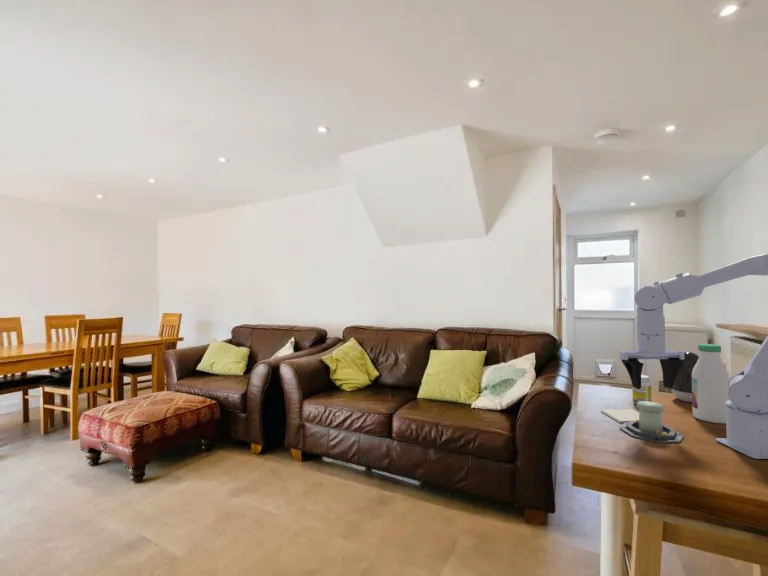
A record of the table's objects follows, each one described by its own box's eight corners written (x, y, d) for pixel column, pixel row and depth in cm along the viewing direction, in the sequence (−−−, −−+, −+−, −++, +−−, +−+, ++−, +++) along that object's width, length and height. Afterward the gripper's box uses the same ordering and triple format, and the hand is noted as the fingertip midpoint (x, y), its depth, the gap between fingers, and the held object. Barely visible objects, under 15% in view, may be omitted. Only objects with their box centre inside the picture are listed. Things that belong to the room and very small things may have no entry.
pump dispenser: (662, 395, 119) (660, 349, 119) (698, 396, 118) (696, 349, 118) (682, 405, 109) (680, 354, 109) (721, 406, 107) (720, 355, 108)
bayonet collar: (695, 442, 83) (695, 435, 83) (642, 443, 84) (642, 435, 84) (658, 423, 95) (658, 417, 95) (611, 423, 96) (611, 417, 96)
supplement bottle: (645, 401, 114) (644, 374, 114) (655, 405, 109) (654, 377, 109) (629, 400, 115) (628, 374, 115) (638, 405, 110) (637, 377, 110)
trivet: (655, 422, 96) (655, 420, 96) (620, 423, 96) (620, 420, 96) (632, 411, 105) (632, 409, 105) (601, 411, 105) (601, 409, 105)
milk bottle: (737, 421, 95) (735, 345, 96) (720, 426, 93) (718, 347, 93) (703, 412, 103) (701, 341, 103) (686, 416, 100) (684, 343, 100)
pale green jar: (670, 437, 86) (669, 408, 86) (648, 437, 87) (647, 408, 87) (653, 428, 92) (652, 400, 92) (632, 428, 93) (631, 400, 93)
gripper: (669, 331, 95) (670, 383, 95) (612, 332, 96) (613, 384, 96) (690, 335, 88) (691, 391, 88) (628, 336, 89) (630, 391, 89)
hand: (652, 387), depth 92 cm, fingers open, 7 cm apart
